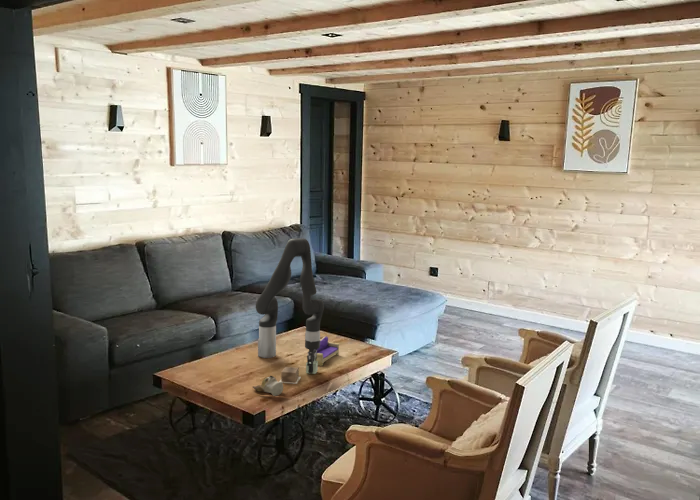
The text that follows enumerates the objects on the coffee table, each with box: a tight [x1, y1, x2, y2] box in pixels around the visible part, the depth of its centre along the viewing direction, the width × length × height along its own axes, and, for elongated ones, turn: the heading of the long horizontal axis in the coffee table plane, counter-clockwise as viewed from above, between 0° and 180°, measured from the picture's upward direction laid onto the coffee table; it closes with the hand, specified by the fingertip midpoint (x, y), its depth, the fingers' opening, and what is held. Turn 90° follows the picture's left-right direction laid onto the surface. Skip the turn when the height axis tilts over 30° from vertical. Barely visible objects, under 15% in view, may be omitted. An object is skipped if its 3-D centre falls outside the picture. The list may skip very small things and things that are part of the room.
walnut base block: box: [280, 366, 300, 384], centre depth 299 cm, size 7×7×5 cm
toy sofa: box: [316, 335, 340, 367], centre depth 331 cm, size 21×9×10 cm, turn 155°
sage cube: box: [305, 361, 319, 375], centre depth 309 cm, size 5×5×5 cm
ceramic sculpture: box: [251, 375, 284, 397], centre depth 284 cm, size 11×9×15 cm
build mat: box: [278, 376, 301, 385], centre depth 300 cm, size 12×12×1 cm
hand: (311, 370), depth 309 cm, fingers closed on sage cube, 5 cm apart
